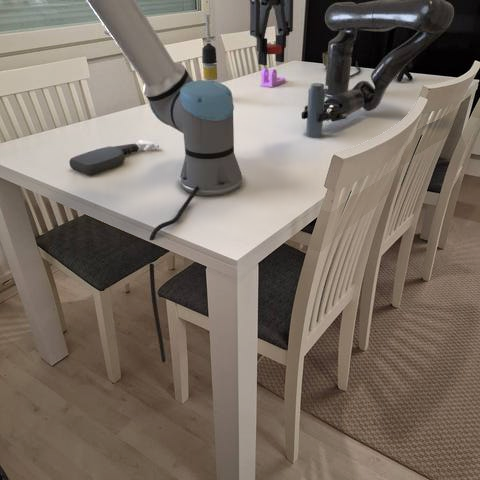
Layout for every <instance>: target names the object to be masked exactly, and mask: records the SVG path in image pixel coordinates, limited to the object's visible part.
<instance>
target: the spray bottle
mask: <svg viewBox="0 0 480 480" xmlns="http://www.w3.org/2000/svg"><path fill="white" fill-rule="evenodd" d="M159 148H160V145H159V144H158V143H155V142H151V141H148V140H144V139H139V140H138V141H137V142H135V143H129V144H128V143H126V144H122V145H113V146H105V147H100V148H97V149H94V150H90V151H87V152H83V153H81V154H78V155H74V156H73V157H70V159H69V161H68V162H69V167H70V168H71V169H72V170H74V171H75V172H78V173H81V174H83V175H85V176H89V177H90V176H91V177H92V176H95V175H99V174H102V173H105V172H107V171H110V170H113V169H116V168H118V167H120V166H122V165H123V164H124V163H125V158H126V156H127V155H131V154H133V153H138V151H140V150H143V151H144V152H146V151H147V150H149V149H159Z"/></svg>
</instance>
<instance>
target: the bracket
mask: <svg viewBox="0 0 480 480" xmlns="http://www.w3.org/2000/svg"><path fill="white" fill-rule="evenodd" d="M284 83H286V78H285V77H284V76H283V77H281V76H278V71H277V69H273V68H271V69H270V71H269V68H266V67H264V68H262V69H261V72H260V86H262V87H267V88H268V87H269V88H273V87H276V86H279V85H282V84H284Z"/></svg>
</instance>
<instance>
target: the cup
mask: <svg viewBox="0 0 480 480" xmlns="http://www.w3.org/2000/svg"><path fill="white" fill-rule="evenodd" d="M327 58H328V51H324V52H322V64H323V66H324V68H325V71H326V70H327Z"/></svg>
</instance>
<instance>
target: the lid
mask: <svg viewBox="0 0 480 480" xmlns="http://www.w3.org/2000/svg"><path fill="white" fill-rule="evenodd" d="M281 52H282V45H278V44H276V43H267V55H276V54H280V53H281Z"/></svg>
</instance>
